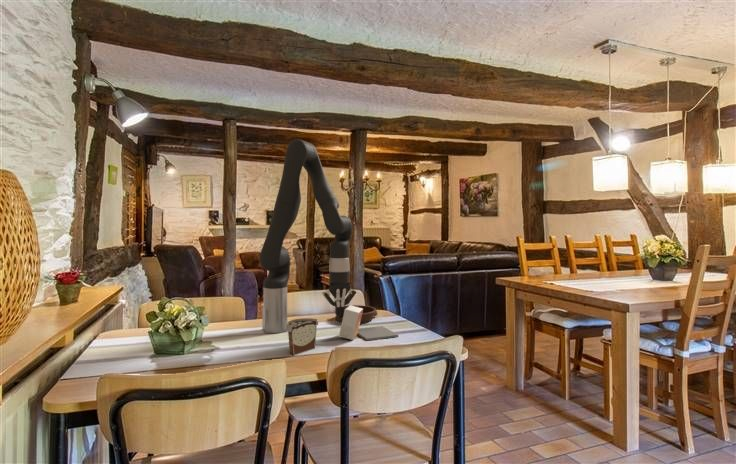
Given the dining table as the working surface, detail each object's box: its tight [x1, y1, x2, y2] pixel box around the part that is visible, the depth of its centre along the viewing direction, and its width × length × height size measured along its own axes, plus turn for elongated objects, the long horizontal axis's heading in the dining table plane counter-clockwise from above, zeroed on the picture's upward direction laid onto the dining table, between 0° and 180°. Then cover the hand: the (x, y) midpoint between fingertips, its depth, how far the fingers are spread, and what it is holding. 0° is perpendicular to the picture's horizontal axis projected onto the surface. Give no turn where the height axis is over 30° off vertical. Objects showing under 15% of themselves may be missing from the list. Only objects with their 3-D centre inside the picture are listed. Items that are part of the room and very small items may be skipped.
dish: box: [334, 304, 378, 324], centre depth 185 cm, size 18×22×5 cm
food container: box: [286, 317, 319, 356], centre depth 142 cm, size 12×6×10 cm, turn 141°
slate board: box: [357, 325, 399, 342], centre depth 163 cm, size 13×14×1 cm
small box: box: [338, 304, 363, 341], centre depth 158 cm, size 8×6×10 cm
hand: (339, 316), depth 156 cm, fingers closed
